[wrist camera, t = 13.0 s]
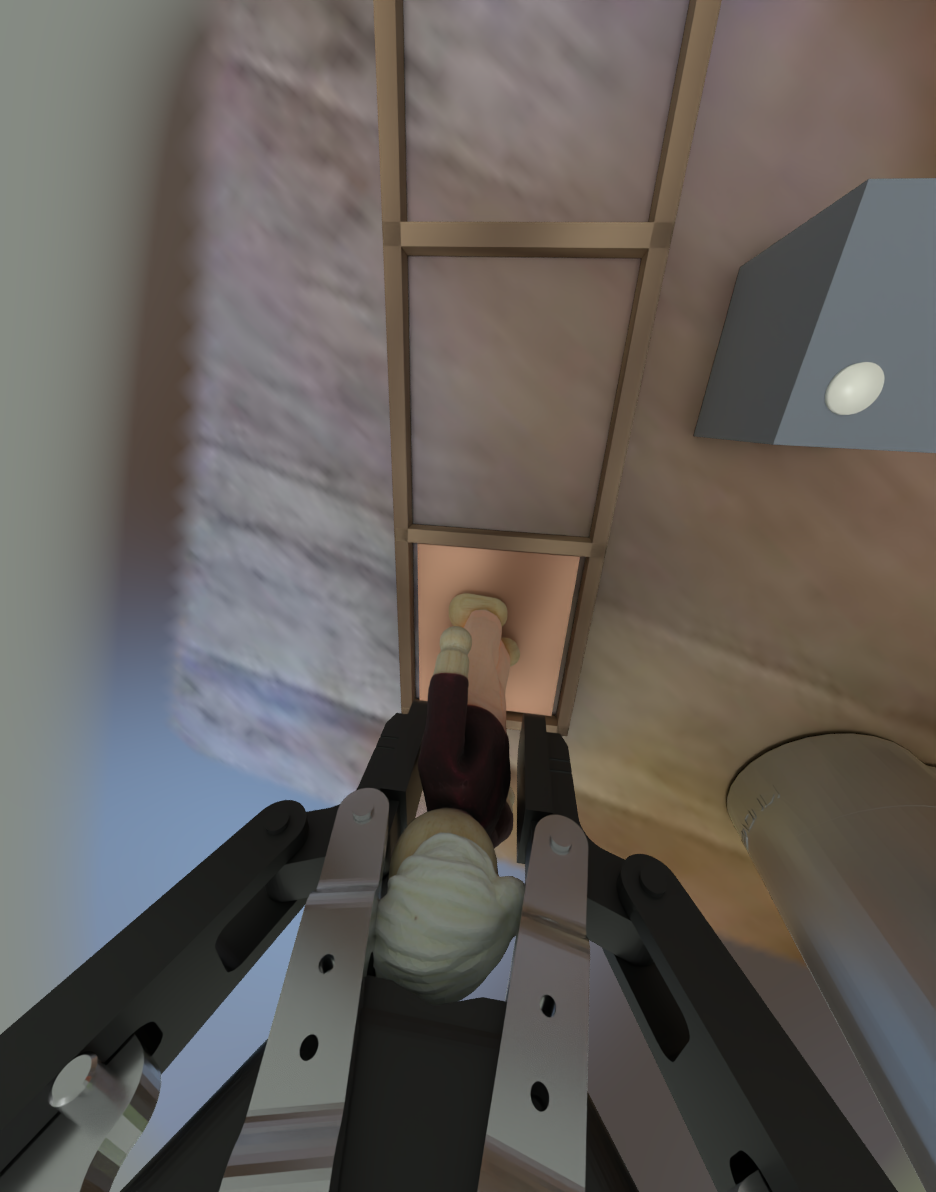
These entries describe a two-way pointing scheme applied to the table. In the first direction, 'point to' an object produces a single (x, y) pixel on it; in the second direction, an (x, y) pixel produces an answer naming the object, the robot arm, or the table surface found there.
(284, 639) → the table surface
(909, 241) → the die
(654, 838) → the table surface
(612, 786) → the table surface
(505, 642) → the grandmother figurine
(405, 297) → the board
